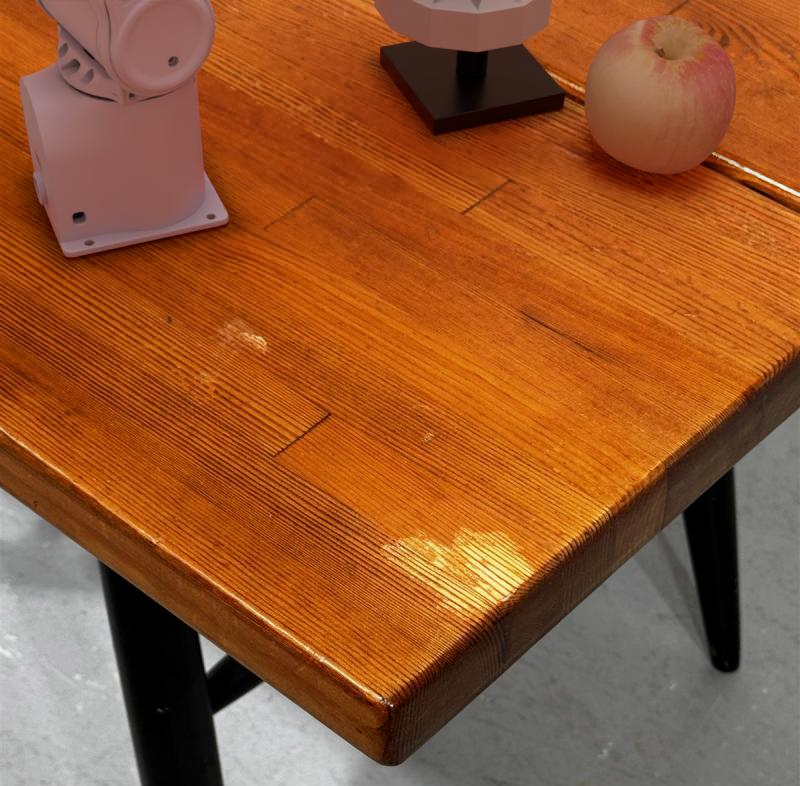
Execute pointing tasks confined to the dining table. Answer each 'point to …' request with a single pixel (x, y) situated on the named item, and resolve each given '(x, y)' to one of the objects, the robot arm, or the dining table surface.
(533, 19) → the tape roll
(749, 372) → the dining table surface
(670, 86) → the apple
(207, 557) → the dining table surface
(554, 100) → the black peg stand
